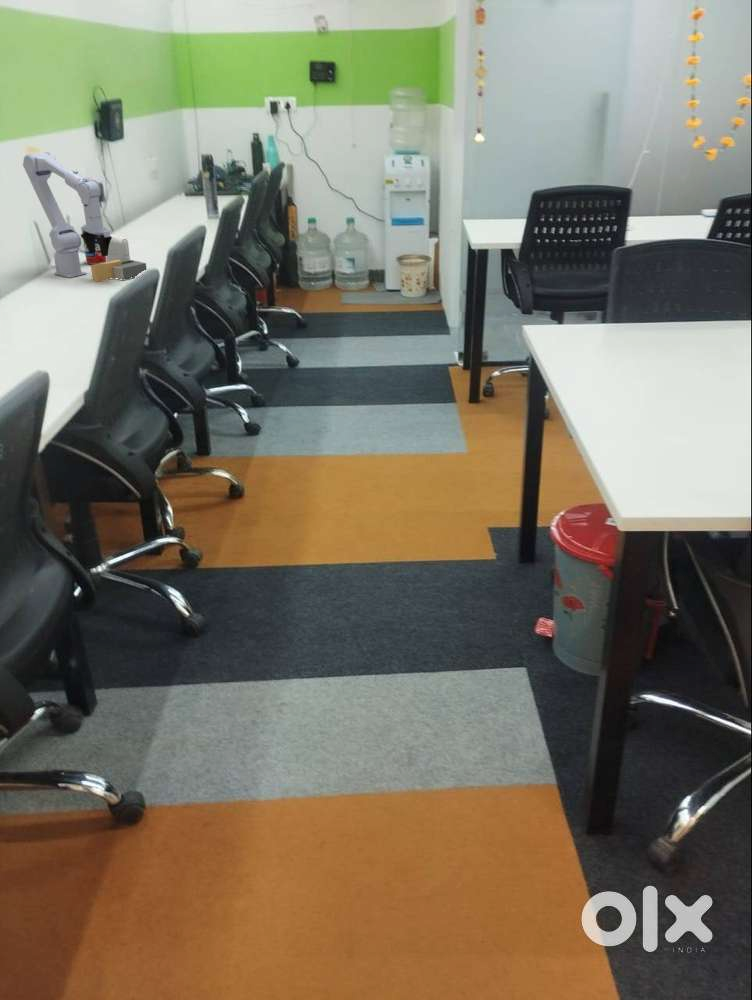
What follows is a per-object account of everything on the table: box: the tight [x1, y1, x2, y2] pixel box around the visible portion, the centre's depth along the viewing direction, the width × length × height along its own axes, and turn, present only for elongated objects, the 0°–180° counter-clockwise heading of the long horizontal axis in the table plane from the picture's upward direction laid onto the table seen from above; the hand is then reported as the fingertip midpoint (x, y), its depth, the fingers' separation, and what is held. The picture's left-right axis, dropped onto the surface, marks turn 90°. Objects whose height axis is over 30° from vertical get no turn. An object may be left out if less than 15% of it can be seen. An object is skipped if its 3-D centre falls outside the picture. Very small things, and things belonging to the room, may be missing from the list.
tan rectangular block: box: [90, 260, 122, 283], centre depth 318 cm, size 2×12×6 cm, turn 142°
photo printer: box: [106, 234, 131, 262], centre depth 334 cm, size 10×4×12 cm, turn 61°
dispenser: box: [99, 258, 148, 281], centre depth 323 cm, size 14×12×4 cm
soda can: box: [81, 224, 107, 266], centre depth 338 cm, size 8×8×15 cm
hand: (98, 254), depth 313 cm, fingers open, 7 cm apart
